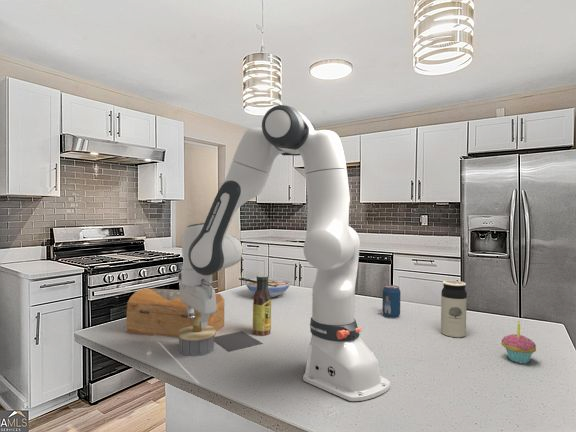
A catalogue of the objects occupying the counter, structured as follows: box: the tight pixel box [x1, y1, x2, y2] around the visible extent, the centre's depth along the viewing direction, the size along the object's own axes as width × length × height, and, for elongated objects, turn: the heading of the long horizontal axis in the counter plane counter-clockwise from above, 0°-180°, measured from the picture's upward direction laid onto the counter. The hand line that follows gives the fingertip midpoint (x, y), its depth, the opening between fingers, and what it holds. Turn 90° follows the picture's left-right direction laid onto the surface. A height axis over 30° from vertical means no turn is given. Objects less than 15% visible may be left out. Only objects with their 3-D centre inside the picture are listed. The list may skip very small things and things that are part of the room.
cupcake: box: [500, 320, 537, 364], centre depth 107 cm, size 9×8×12 cm
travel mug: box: [440, 280, 468, 339], centre depth 129 cm, size 8×8×18 cm
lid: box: [177, 316, 217, 341], centre depth 112 cm, size 11×11×5 cm
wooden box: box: [126, 287, 225, 338], centre depth 131 cm, size 30×16×14 cm, turn 75°
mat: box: [214, 330, 264, 353], centre depth 120 cm, size 14×12×1 cm
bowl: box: [178, 336, 215, 357], centre depth 112 cm, size 10×10×5 cm
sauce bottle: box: [252, 274, 272, 337], centre depth 128 cm, size 6×6×20 cm
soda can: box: [381, 284, 401, 319], centre depth 150 cm, size 7×7×12 cm
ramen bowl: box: [238, 276, 292, 299], centre depth 181 cm, size 25×23×8 cm
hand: (197, 322), depth 112 cm, fingers open, 8 cm apart
